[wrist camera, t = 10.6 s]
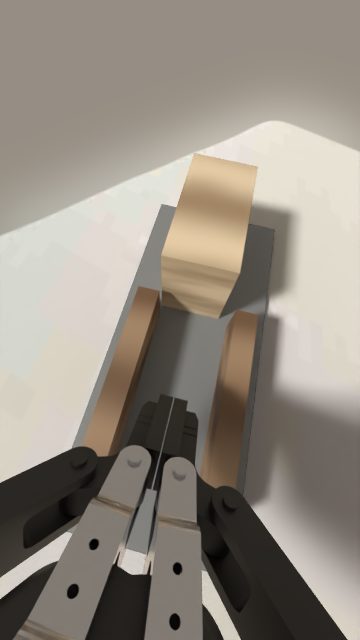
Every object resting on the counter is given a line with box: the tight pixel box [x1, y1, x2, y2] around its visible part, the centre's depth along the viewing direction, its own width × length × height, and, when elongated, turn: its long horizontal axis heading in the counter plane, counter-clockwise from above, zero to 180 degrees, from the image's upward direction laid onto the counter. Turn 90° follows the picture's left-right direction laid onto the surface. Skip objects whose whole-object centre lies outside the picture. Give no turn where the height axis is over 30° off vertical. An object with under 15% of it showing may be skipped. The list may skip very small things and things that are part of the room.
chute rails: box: [82, 286, 258, 489], centre depth 18 cm, size 14×9×4 cm, turn 166°
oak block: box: [161, 153, 258, 319], centre depth 21 cm, size 10×5×7 cm, turn 167°
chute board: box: [66, 204, 275, 571], centre depth 22 cm, size 28×12×1 cm, turn 166°
